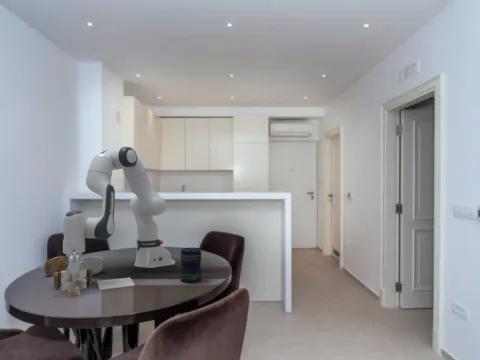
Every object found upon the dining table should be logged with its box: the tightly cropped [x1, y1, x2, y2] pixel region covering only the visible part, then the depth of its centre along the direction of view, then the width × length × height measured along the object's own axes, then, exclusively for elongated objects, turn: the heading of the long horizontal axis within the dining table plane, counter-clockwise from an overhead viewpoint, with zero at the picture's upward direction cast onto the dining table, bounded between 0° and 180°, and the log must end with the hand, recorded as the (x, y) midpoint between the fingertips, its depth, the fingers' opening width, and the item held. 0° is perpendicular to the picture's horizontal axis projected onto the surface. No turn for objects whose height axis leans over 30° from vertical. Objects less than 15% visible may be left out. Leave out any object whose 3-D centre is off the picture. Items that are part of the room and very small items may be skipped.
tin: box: [44, 255, 69, 277], centre depth 186 cm, size 15×3×8 cm, turn 168°
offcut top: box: [69, 286, 80, 292], centre depth 152 cm, size 4×3×1 cm
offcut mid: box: [67, 290, 80, 295], centre depth 152 cm, size 4×3×1 cm
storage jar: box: [179, 247, 202, 284], centre depth 173 cm, size 10×10×15 cm
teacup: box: [79, 255, 104, 276], centre depth 184 cm, size 14×11×8 cm
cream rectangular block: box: [60, 269, 87, 292], centre depth 160 cm, size 10×2×8 cm, turn 116°
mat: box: [96, 277, 136, 291], centre depth 167 cm, size 15×14×1 cm
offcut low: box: [67, 290, 81, 297], centre depth 152 cm, size 4×4×1 cm
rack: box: [53, 269, 93, 291], centre depth 164 cm, size 16×7×6 cm, turn 116°
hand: (73, 279), depth 160 cm, fingers open, 4 cm apart
